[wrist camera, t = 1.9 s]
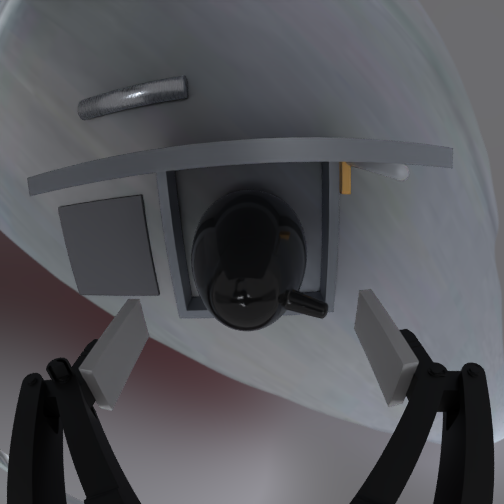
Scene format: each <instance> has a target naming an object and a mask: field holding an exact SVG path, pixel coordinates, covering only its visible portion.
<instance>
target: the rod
mask: <svg viewBox="0 0 504 504" xmlns="http://www.w3.org/2000/svg"><path fill="white" fill-rule="evenodd" d="M187 97H188V81H187V78H186V76H185V75H184V76H178V77H172V78H166V79H161V80H156V81H151V82H147V83H142V84H138V85H134V86H130V87H126V88H122V89H118V90H114V91H111V92H107V93H104V94H100V95H97V96H94V97H91V98H88V99H85V100H82V101H80V102H79V105H78V114H79V116H80V118H81V119H82V120H87V119H91V118H94V117H98V116H101V115H105V114H109V113H113V112H117V111H121V110H125V109H129V108H134V107H138V106H143V105H148V104H153V103H158V102H164V101H170V100H176V99H182V98H187Z"/></svg>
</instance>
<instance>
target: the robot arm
mask: <svg viewBox="0 0 504 504" xmlns="http://www.w3.org/2000/svg"><path fill="white" fill-rule="evenodd" d="M354 329H355V331H356V334H357V336H358V338H359V340H360V342H361V345H362V347H363V349H364V351H365V353H366V356H367V358H368V360H369V362H370V365H371V367H372V369H373V372H374V374H375V376H376V378H377V381H378V383H379V385H380V388H381V390H382V393H383V395H384V397H385V400H386V402H387V405H388V407H390V406H394V405H399V404H403V401H404V399H405V397H406V396H407V398H408V400H409V402H408V404H407V407H406V409H405V411H404V413H403V415H402V417H401V419H400V421H399V423H398V425H397V427H396V429H395V431H394V433H393V435H392V437H391V439H390V441H389V443H388V444H387V446H386V448H385V450H384V451H383V453H382V455H381V457H380V458H379V460H378V462H377V464H376V465H375V467H374V468H373V470H372V471H371V473H370V475H369V476H368V478H367V479H366V481H365V482H364V484H363V485H362V487H361V488H360V490H359V491H358V493H357V494H356V495H355V497H354V498H353V500H352V501H351V502H350V504H395V503H396V501H397V500H398V498H399V496H400V494H401V493H402V491H403V489H404V487H405V485H406V483H407V481H408V479H409V477H410V475H411V473H412V471H413V469H414V467H415V465H416V463H417V461H418V458H419V456H420V454H421V452H422V449H423V447H424V445H425V442H426V440H427V437H428V435H429V432H430V429H431V427H432V424H433V421H434V419H435V416H436V413H437V412H443V428H442V444H441V455H440V465H439V472H438V480H437V486H436V492H435V497H434V502H433V504H492V503H493V488H494V441H493V426H492V416H491V407H490V400H489V393H488V386H487V381H486V375H485V371H484V369H483V368H482V367H481V366H480V365H478V364H476V363H467V364H465V365H464V366H463V367H462V369H461V371H447V369H446V368H445V367H444V366H443V365H442V364H439V363H435V362H433V361H432V360H431V358H430V357H429V355H428V354H427V352H426V351H425V349H424V348H423V346H422V345H421V343H420V342H419V341H418V339H417V338H416V336H415V335H414V334H413V333H412V332H411V331H409V330H408V329H403V330H399V329H398V328H397V326H396V325H395V323H394V322H393V320H392V319H391V317H390V316H389V314H388V313H387V311H386V310H385V309H384V307H383V306H382V304H381V303H380V301H379V300H378V298H377V297H376V296H375V294H374V293H373V291H372V290H371V289H369V290H359V297H358V305H357V313H356V320H355V327H354ZM148 337H149V333H148V329H147V326H146V322H145V319H144V315H143V311H142V307H141V303H140V299H128V300H127V302H126V303H125V304H124V306H123V307H122V308H121V310H120V311H119V312H118V314H117V315H116V316H115V318H114V319H113V320H112V322H111V323H110V324H109V326H108V327H107V329H106V330H105V331H104V333H103V334H102V336H101V337H100V338H99V340H98V339H94V340H93V341H92V342H90V343H89V344H88V345H87V346H86V348H85V349H84V351H83V352H82V353H81V356H79V357H78V359H77V360H76V362H75V363H74V365H73V366H72V367H71V365H70V363H69V361H68V360H67V359H65V358H57V359H54V360H52V361H51V362H50V363H49V364H48V365H47V368H46V370H47V372H48V374H49V376H50V378H51V379H52V380H43V378H42V376H41V375H40V374H38V373H32V374H29V375H27V376H26V377H25V378H24V380H23V382H22V386H21V390H20V394H19V398H18V403H17V408H16V413H15V419H14V424H13V430H12V437H11V445H10V454H9V464H8V481H7V504H67V502H66V493H65V482H64V466H63V429H64V433H65V437H66V440H67V444H68V447H69V450H70V454H71V457H72V460H73V463H74V466H75V469H76V471H77V474H78V477H79V479H80V482H81V485H82V487H83V490H84V492H85V495H86V499H85V500H84V504H141V503H140V501H139V499H138V498H137V496H136V494H135V493H134V491H133V489H132V487H131V486H130V484H129V482H128V480H127V478H126V477H125V475H124V473H123V471H122V469H121V467H120V465H119V463H118V461H117V459H116V457H115V455H114V453H113V451H112V449H111V446H110V444H109V442H108V440H107V437H106V435H105V433H104V431H103V428H102V426H101V423H100V421H99V419H98V416H97V413H96V411H95V409H94V407H93V404H94V402H95V401H96V402H97V404H98V406H99V407H100V408H102V409H107V410H113V408H114V406H115V404H116V402H117V399H118V397H119V395H120V393H121V391H122V389H123V387H124V385H125V383H126V381H127V379H128V377H129V375H130V373H131V371H132V369H133V367H134V365H135V362H136V360H137V359H138V357H139V355H140V353H141V351H142V349H143V347H144V345H145V343H146V341H147V339H148Z"/></svg>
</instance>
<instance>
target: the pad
mask: <svg viewBox="0 0 504 504" xmlns="http://www.w3.org/2000/svg"><path fill="white" fill-rule="evenodd" d="M58 211H59V216H60V221H61V226H62V230H63V235H64V239H65V244H66V248H67V252H68V256H69V259H70V263H71V267H72V270H73V274H74V277H75V281H76V284H77V287H78V291H79V294H80V295H113V296H159V294H160V293H159V288H158V284H157V279H156V274H155V269H154V264H153V259H152V253H151V248H150V242H149V237H148V231H147V224H146V218H145V211H144V205H143V197H142V195H136V196H128V197H121V198H113V199H106V200H100V201H93V202H86V203H80V204H74V205H68V206H63V207H59V208H58Z"/></svg>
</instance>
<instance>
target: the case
mask: <svg viewBox="0 0 504 504" xmlns="http://www.w3.org/2000/svg"><path fill="white" fill-rule="evenodd" d="M277 162H322V260H321V284H320V292H305V293H304V294H306V295H309V296H311V297H314V298H316V299H318V300H321V301H323V302H326V303H327V304H328V307H329V308H328V312H333V311H334V300H335V288H336V274H337V257H338V235H339V192H340V193H341V194H351V166H353V167H356V168H360V169H363V170H367V171H370V172H374V173H377V174H380V175H383V176H386V177H390V178H393V179H396V180H399V181H405V180H406V179H407V178H408V176H409V170H408V168H407V166H406V165H404V164H409V165H422V166H434V167H444V168H453V148H450V147H443V146H436V145H428V144H420V143H411V142H401V141H390V140H376V139H359V138H328V137H293V138H262V139H244V140H230V141H218V142H208V143H198V144H189V145H181V146H173V147H166V148H159V149H153V150H146V151H140V152H134V153H129V154H123V155H118V156H113V157H108V158H103V159H99V160H94V161H89V162H85V163H81V164H77V165H73V166H68V167H65V168H61V169H57V170H53V171H50V172H46V173H42V174H39V175H36V176H32V177H29V178H27V180H28V187H29V194H30V196H33V195H37V194H41V193H45V192H50V191H54V190H59V189H63V188H68V187H73V186H78V185H83V184H88V183H93V182H99V181H104V180H110V179H116V178H122V177H129V176H135V175H142V174H149V173H156V177H157V186H158V194H159V202H160V210H161V217H162V224H163V231H164V237H165V243H166V250H167V256H168V261H169V267H170V273H171V278H172V283H173V288H174V294H175V299H176V303H177V308H178V313H179V318H214V317H213V316H212V315H211V313H210V312H209V311H208V310H207V308H206V307H205V305H204V303H203V301H202V299H201V297H192V294H191V288H190V282H189V276H188V270H187V264H186V257H185V250H184V243H183V236H182V229H181V221H180V213H179V205H178V196H177V187H176V178H175V170H182V169H191V168H201V167H212V166H224V165H238V164H255V163H277ZM298 314H301V313H297V312H293V311H289V310H287V311H286V312H285V313H284V314H283V315H298Z"/></svg>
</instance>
